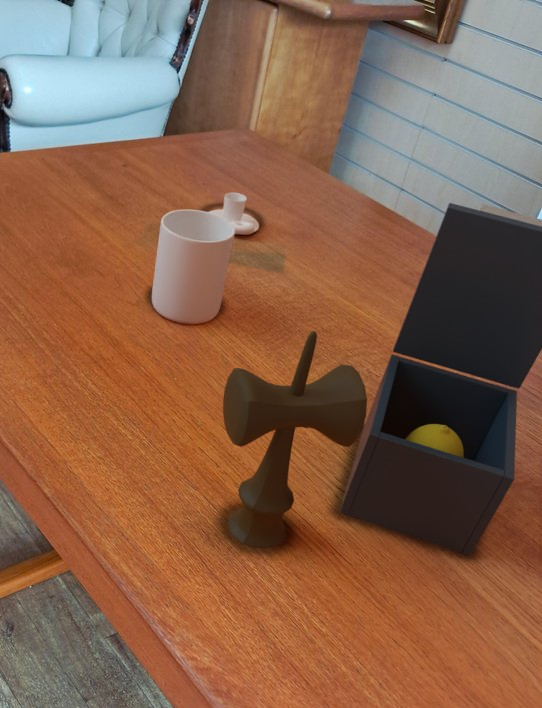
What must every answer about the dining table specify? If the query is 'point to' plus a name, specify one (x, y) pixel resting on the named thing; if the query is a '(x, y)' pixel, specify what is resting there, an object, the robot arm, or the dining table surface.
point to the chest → (433, 456)
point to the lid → (479, 296)
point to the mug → (191, 265)
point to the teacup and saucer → (237, 214)
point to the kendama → (285, 435)
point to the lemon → (437, 438)
